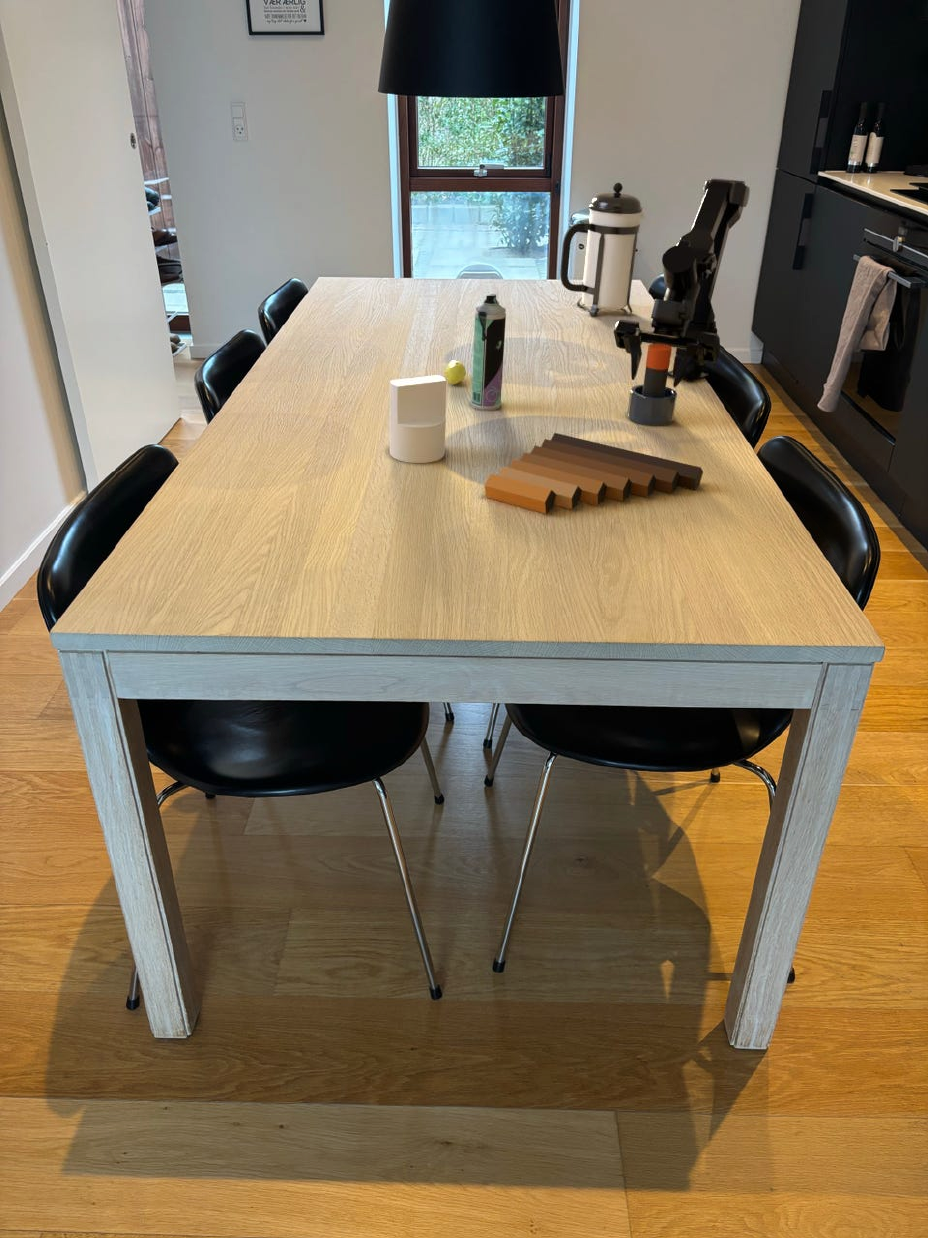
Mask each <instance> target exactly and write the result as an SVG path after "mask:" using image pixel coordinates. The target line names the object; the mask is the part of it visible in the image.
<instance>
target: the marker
mask: <svg viewBox="0 0 928 1238" xmlns="http://www.w3.org/2000/svg"><path fill="white" fill-rule="evenodd" d="M672 350H673V347H671V346H669V345H665V344H651V343H649V344H648V346H647V354H646V361H645V370H644V377H643V384H642V385H643V391H642V395H643V396H647V397H653V398H664V395H665V389H666V387H667V381H668V377H669V376H668V372H669V369H670V363H671V357H672Z"/></svg>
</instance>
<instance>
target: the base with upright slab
mask: <svg viewBox="0 0 928 1238" xmlns="http://www.w3.org/2000/svg"><path fill="white" fill-rule="evenodd" d="M446 405H447V378H446V377H443V376H441V375H439V374H435V375H427V376H419V377H411V378H401V379H392V380H389V455H390V456H391V458H394V459H395V460H398V461H401V462H405V463H411V464H426V463H432V462H436V461H439V460H441V459H442V458H443V457H444V456H445V454H446V422H447V421H446V419H447V418H446V412H447V411H446V409H447V406H446Z"/></svg>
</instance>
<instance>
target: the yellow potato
mask: <svg viewBox="0 0 928 1238" xmlns="http://www.w3.org/2000/svg"><path fill="white" fill-rule="evenodd" d="M445 367H446V368H445V372H444V374H445V379H446V381H447V382H448V383H449V384H451V385H457V384H460V383H461V382H462V381H463V379H464V378H465V377H466V375H467V370H466V367H465V365H464V364H463V362H461V361H459V360H451V361H450V362H448V363H447V365H446V366H445Z"/></svg>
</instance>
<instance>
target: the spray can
mask: <svg viewBox="0 0 928 1238" xmlns="http://www.w3.org/2000/svg"><path fill="white" fill-rule="evenodd" d="M506 311H507V309H506V308H505V307H503V306H502V305H501V304H500V302H499V301H498V300H497V294H494V293H492V294H489V295H486V298H485V299H484V301H483V302H482V303H481V304H480V305H479V306H476V308H475V312H474V332H473V351H472V352H473V353H472V354H473V355H472V376H471V377H472V378H471V399H470V406H471V407H472V408H474V409H477V410H480V411H481V410H482V411H494V410H498V409H499V408H501V403H502V390H503V389H502V388H503V371H504V355H505V337H506V320H507V313H506Z"/></svg>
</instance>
